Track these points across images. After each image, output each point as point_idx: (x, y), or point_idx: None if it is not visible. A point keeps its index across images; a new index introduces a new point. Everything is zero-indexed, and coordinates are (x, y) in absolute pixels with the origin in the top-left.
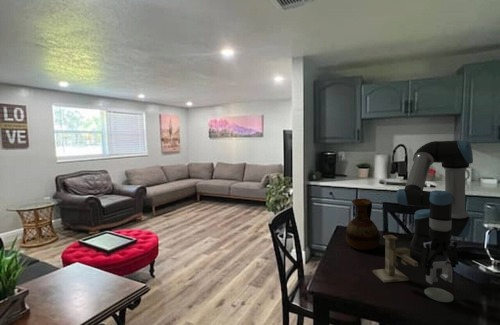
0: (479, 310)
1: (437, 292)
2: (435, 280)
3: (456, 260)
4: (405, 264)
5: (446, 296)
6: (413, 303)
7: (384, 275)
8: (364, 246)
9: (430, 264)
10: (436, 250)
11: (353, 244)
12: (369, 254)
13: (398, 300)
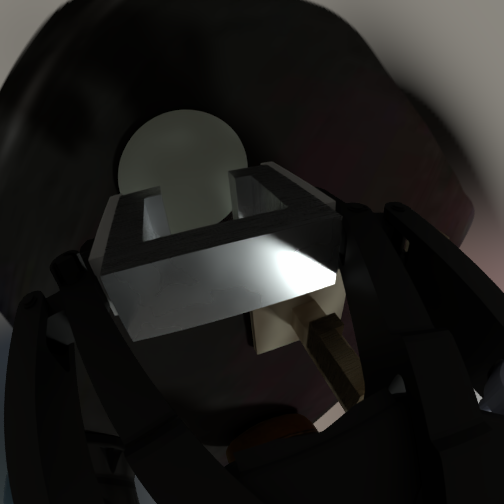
0: (70, 57)
1: (182, 188)
2: (250, 169)
3: (28, 329)
4: (337, 316)
5: (157, 153)
6: (337, 112)
7: (329, 297)
8: (287, 422)
9: (367, 224)
10: (462, 367)
11: (308, 420)
12: (273, 404)
13: (373, 140)
